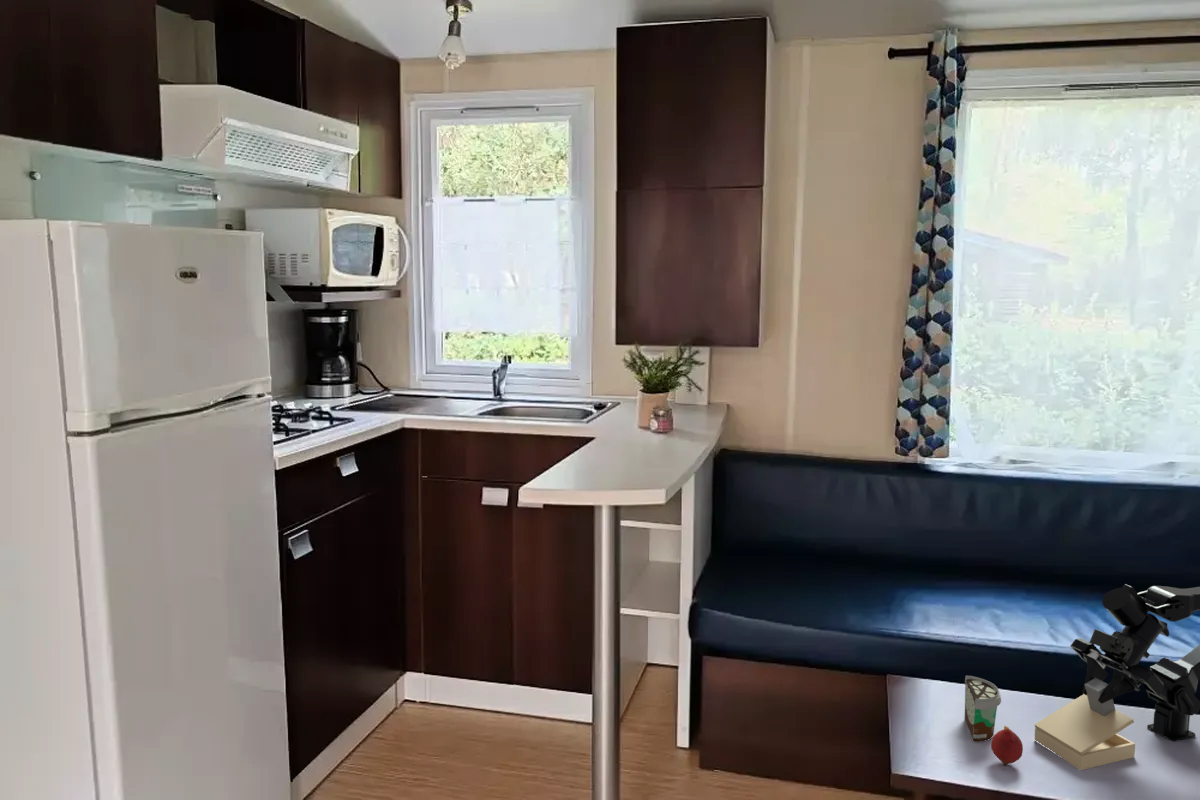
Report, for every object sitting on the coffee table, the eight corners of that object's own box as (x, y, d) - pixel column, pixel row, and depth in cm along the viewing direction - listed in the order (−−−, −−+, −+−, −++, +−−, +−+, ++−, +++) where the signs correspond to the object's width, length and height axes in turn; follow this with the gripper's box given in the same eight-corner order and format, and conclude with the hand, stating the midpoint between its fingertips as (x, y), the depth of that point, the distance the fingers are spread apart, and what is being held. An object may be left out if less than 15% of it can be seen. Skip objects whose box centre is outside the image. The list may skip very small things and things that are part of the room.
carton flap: (1085, 696, 197) (1078, 669, 195) (1133, 722, 186) (1127, 693, 184) (1035, 727, 193) (1028, 700, 192) (1081, 755, 182) (1074, 726, 181)
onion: (1021, 760, 187) (1024, 723, 186) (1021, 774, 182) (1023, 736, 180) (990, 754, 189) (992, 717, 188) (989, 767, 184) (991, 730, 183)
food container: (1005, 747, 192) (1007, 702, 190) (974, 745, 193) (976, 700, 191) (992, 719, 204) (994, 676, 202) (963, 717, 205) (965, 674, 203)
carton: (1086, 730, 198) (1086, 716, 198) (1134, 757, 187) (1135, 743, 187) (1034, 741, 194) (1035, 728, 193) (1080, 770, 183) (1081, 756, 182)
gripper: (1079, 601, 197) (1036, 658, 195) (1156, 633, 180) (1110, 696, 178) (1105, 630, 201) (1063, 687, 199) (1184, 664, 183) (1138, 726, 182)
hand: (1091, 698), depth 189 cm, fingers closed on carton flap, 3 cm apart
